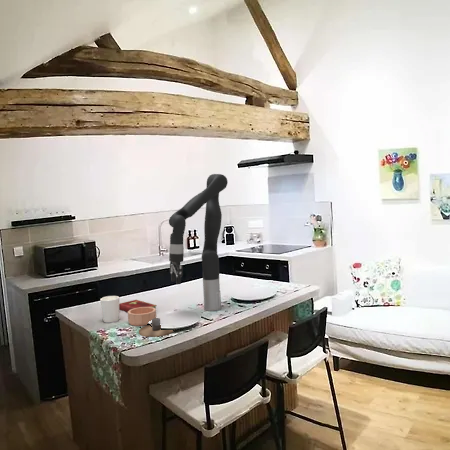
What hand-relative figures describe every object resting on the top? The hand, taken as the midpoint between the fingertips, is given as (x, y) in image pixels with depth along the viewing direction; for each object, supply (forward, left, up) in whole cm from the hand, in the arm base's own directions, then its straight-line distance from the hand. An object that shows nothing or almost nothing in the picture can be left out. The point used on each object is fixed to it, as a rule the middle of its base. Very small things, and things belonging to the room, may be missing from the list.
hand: (175, 282), depth 237 cm
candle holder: (+35, +5, -18) cm, 40 cm away
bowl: (+17, +9, -18) cm, 26 cm away
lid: (+6, +24, -19) cm, 31 cm away
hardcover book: (+26, -13, -19) cm, 34 cm away
